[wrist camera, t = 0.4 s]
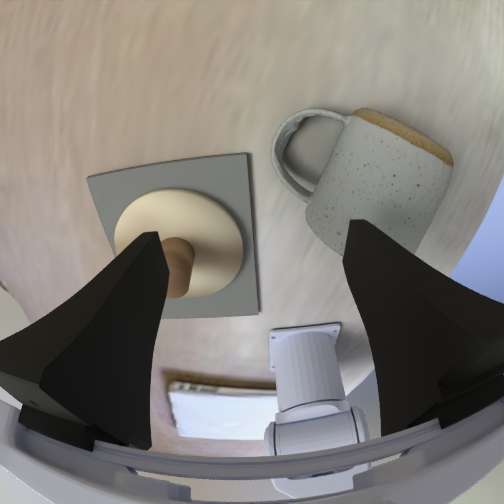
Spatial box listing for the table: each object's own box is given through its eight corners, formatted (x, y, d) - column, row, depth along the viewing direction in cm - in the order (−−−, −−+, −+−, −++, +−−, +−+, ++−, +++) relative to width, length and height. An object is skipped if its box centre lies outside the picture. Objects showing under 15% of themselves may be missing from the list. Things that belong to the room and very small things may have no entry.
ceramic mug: (420, 134, 16) (486, 176, 10) (379, 221, 21) (419, 286, 15) (289, 78, 15) (318, 86, 9) (255, 188, 20) (260, 256, 13)
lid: (247, 288, 25) (248, 326, 22) (139, 293, 25) (129, 328, 22) (236, 180, 18) (235, 210, 15) (101, 197, 19) (76, 228, 15)
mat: (258, 311, 28) (258, 315, 27) (145, 315, 28) (144, 318, 27) (246, 152, 18) (246, 154, 17) (88, 176, 18) (86, 178, 17)
